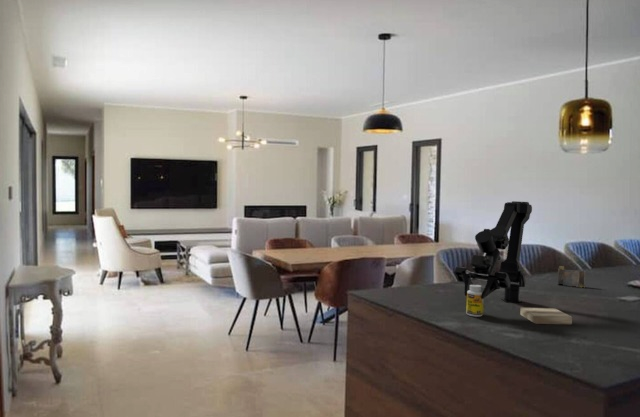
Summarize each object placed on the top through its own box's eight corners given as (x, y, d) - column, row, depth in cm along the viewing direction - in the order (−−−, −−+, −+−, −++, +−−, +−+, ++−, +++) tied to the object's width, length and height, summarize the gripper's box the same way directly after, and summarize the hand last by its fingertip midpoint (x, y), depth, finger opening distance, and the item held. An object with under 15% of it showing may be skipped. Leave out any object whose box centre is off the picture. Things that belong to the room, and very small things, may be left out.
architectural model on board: (557, 286, 243) (558, 265, 242) (557, 285, 245) (558, 264, 245) (584, 288, 238) (585, 267, 237) (584, 287, 241) (585, 266, 240)
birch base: (520, 314, 181) (520, 307, 180) (554, 315, 181) (554, 308, 181) (535, 323, 169) (535, 315, 168) (571, 324, 169) (572, 316, 169)
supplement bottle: (464, 315, 177) (465, 285, 176) (468, 312, 182) (469, 283, 181) (481, 318, 174) (482, 287, 174) (484, 314, 179) (485, 285, 178)
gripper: (457, 244, 186) (441, 278, 178) (508, 249, 174) (494, 286, 166) (465, 263, 192) (450, 297, 184) (516, 270, 180) (502, 306, 172)
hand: (473, 296), depth 176 cm, fingers closed on supplement bottle, 5 cm apart
